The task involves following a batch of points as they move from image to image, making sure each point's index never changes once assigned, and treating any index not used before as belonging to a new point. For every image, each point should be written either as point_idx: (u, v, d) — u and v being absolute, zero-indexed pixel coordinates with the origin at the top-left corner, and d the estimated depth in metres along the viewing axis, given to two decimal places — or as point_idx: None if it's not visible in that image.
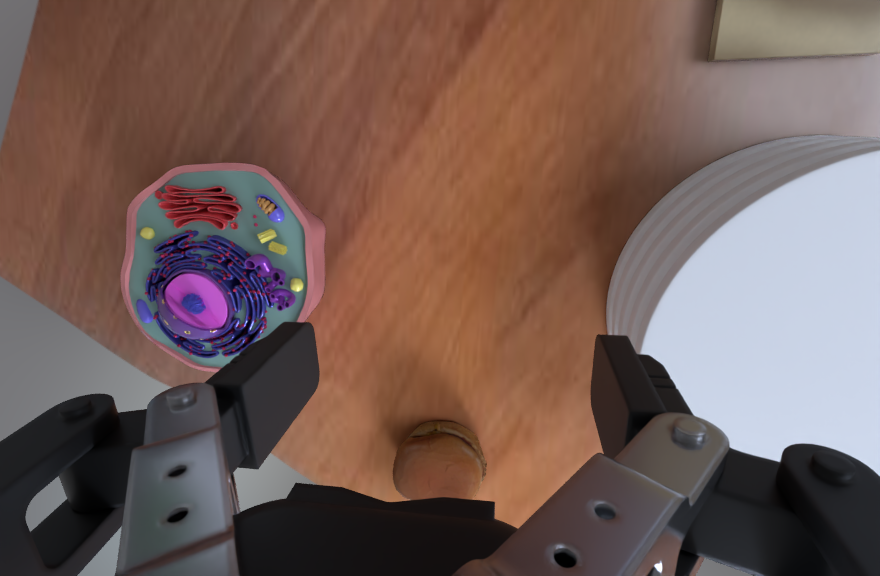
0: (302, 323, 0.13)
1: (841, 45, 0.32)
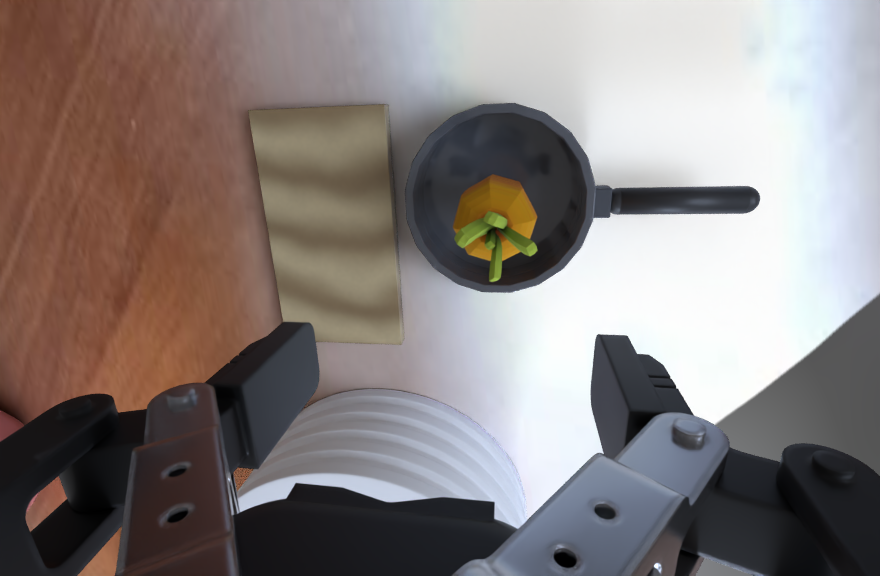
0: (302, 323, 0.13)
1: (370, 338, 0.41)
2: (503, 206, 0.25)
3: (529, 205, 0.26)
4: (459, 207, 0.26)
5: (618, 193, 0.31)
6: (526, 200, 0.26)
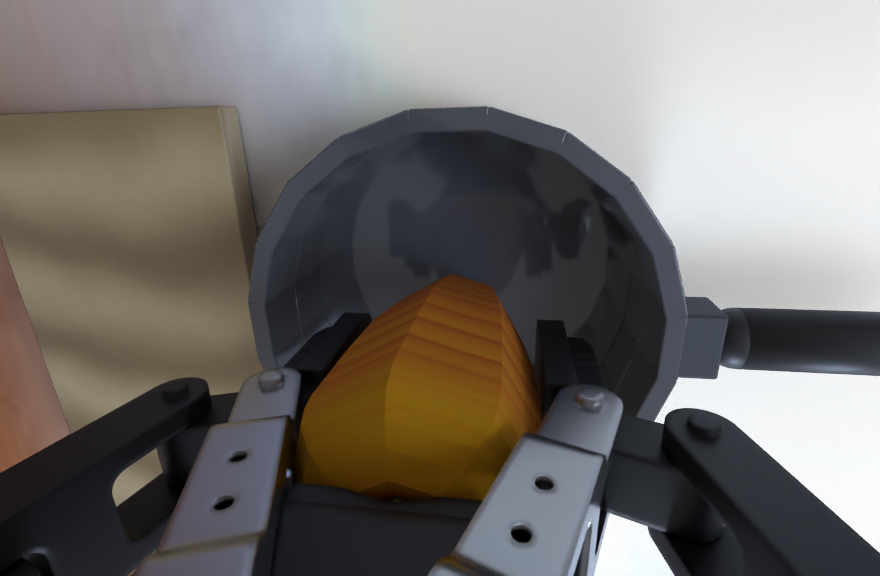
0: (363, 314, 0.13)
1: None
2: (430, 479, 0.07)
3: None
4: None
5: (741, 326, 0.13)
6: (515, 440, 0.08)
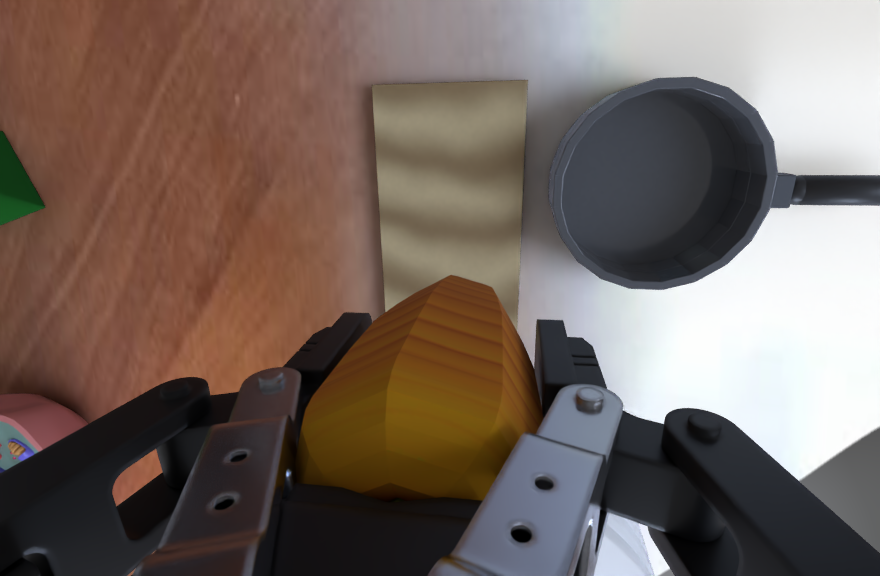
0: (363, 314, 0.13)
1: None
2: (431, 481, 0.07)
3: None
4: None
5: (801, 181, 0.28)
6: (516, 442, 0.08)
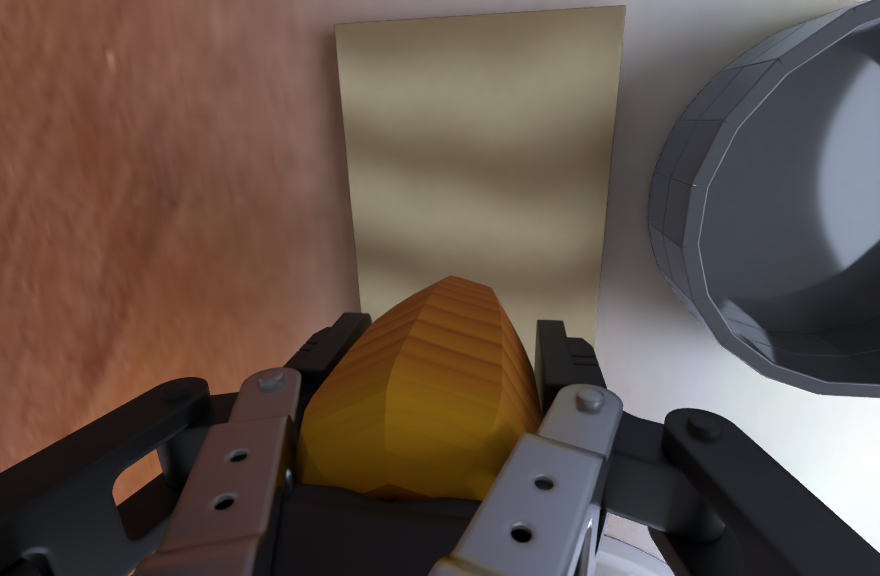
0: (363, 314, 0.13)
1: None
2: (430, 482, 0.07)
3: None
4: None
5: None
6: (515, 442, 0.08)
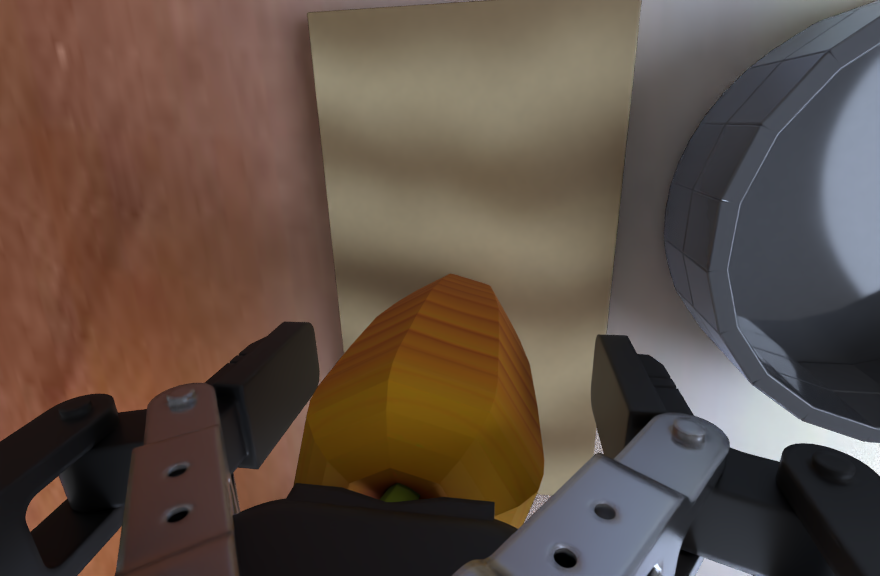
0: (302, 323, 0.13)
1: None
2: (430, 466, 0.07)
3: (520, 443, 0.08)
4: None
5: None
6: (510, 430, 0.08)
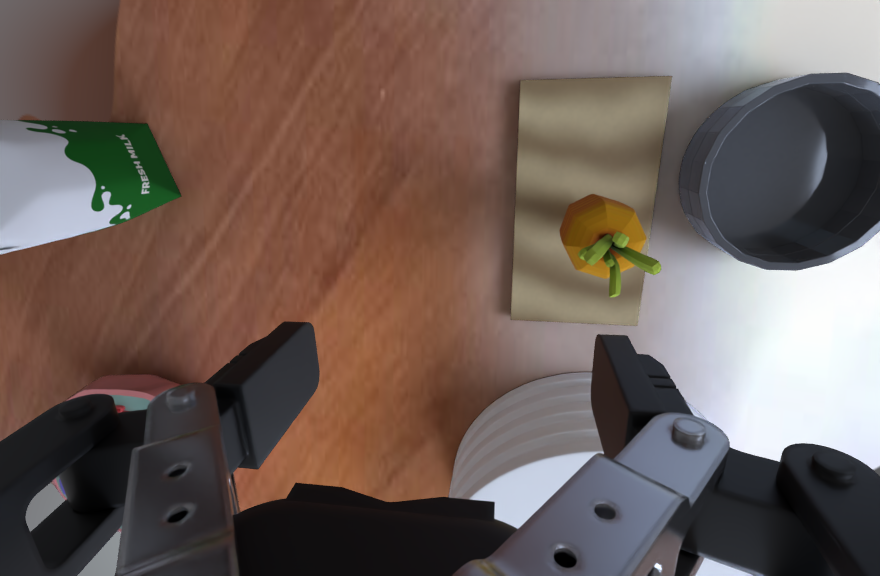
0: (302, 323, 0.13)
1: (604, 318, 0.41)
2: (619, 226, 0.27)
3: None
4: (573, 225, 0.28)
5: None
6: (638, 221, 0.27)
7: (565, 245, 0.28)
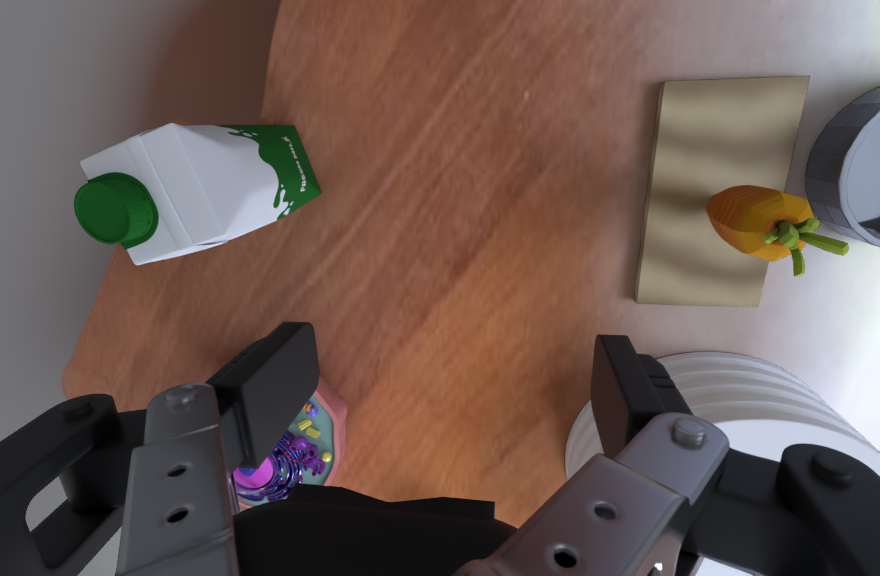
0: (302, 323, 0.13)
1: (727, 301, 0.44)
2: (795, 213, 0.30)
3: None
4: (748, 213, 0.31)
5: None
6: None
7: (738, 231, 0.32)
